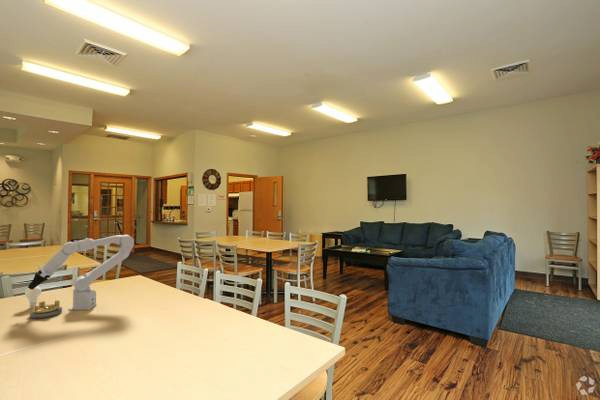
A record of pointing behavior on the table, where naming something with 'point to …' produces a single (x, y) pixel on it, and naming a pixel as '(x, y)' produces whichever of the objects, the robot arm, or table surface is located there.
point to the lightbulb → (33, 295)
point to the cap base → (45, 314)
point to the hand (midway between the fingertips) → (31, 287)
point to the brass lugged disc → (46, 307)
